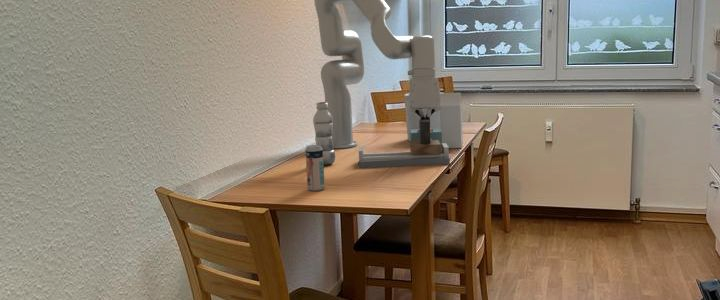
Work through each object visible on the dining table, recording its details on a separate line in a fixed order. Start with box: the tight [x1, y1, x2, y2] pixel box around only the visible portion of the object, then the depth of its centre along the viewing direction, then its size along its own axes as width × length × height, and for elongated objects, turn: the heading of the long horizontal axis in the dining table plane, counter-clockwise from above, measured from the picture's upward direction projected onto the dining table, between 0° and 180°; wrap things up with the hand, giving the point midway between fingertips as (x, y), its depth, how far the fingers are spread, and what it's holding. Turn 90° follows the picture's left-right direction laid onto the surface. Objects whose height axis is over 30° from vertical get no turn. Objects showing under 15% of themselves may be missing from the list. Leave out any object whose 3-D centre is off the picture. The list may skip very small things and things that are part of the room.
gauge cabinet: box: [409, 128, 442, 150], centre depth 237 cm, size 10×8×8 cm
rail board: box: [358, 143, 451, 169], centre depth 225 cm, size 28×12×5 cm, turn 89°
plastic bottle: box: [312, 101, 336, 166], centre depth 226 cm, size 6×7×20 cm
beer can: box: [304, 144, 326, 192], centre depth 191 cm, size 5×5×12 cm
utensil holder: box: [403, 91, 444, 142], centre depth 268 cm, size 15×15×18 cm
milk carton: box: [440, 92, 464, 149], centre depth 249 cm, size 7×7×19 cm
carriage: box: [409, 119, 441, 155], centre depth 224 cm, size 9×9×10 cm
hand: (425, 128), depth 236 cm, fingers closed
